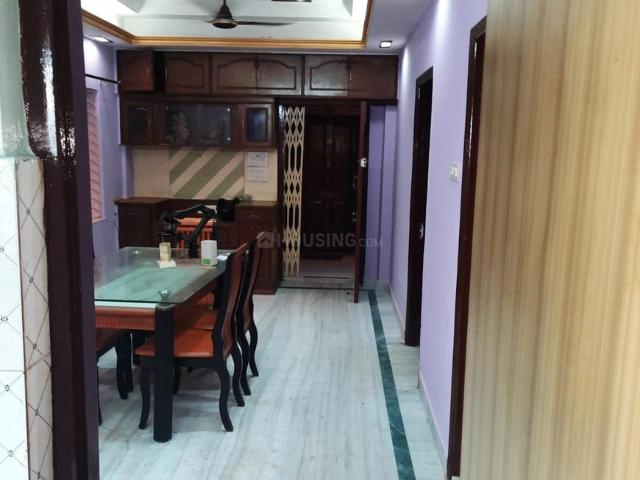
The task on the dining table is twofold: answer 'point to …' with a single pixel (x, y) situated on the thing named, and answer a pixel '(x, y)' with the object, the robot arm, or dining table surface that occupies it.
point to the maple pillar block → (165, 252)
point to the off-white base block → (166, 264)
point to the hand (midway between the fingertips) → (167, 246)
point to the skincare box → (209, 252)
